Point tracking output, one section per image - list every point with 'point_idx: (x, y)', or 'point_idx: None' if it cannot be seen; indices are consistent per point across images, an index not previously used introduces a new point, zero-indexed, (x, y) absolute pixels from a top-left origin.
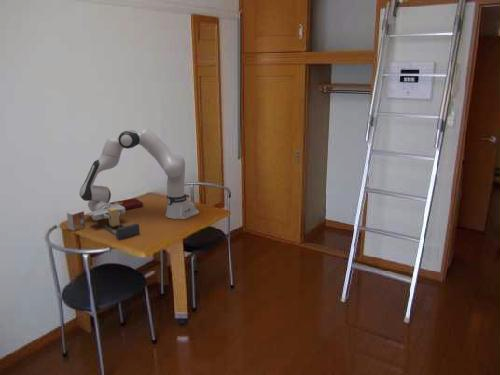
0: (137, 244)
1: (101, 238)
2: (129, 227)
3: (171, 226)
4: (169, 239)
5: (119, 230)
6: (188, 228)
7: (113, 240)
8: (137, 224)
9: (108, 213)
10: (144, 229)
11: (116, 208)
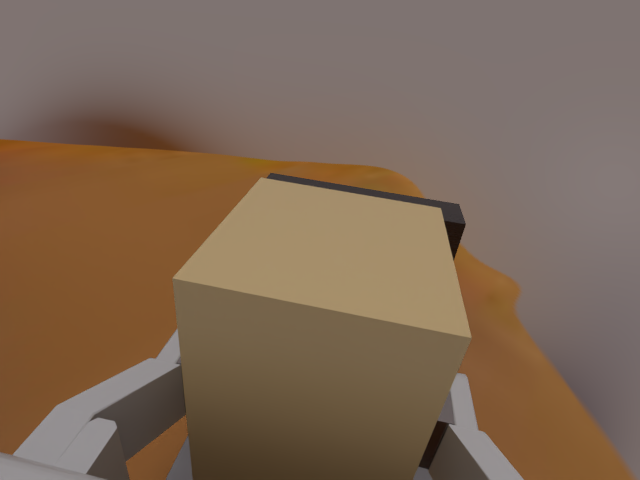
0: None
1: (568, 391)
2: (357, 188)
3: (40, 193)
4: (236, 159)
5: (448, 205)
6: (58, 151)
7: (473, 298)
8: (273, 179)
9: (422, 442)
10: (163, 264)
11: (255, 208)
